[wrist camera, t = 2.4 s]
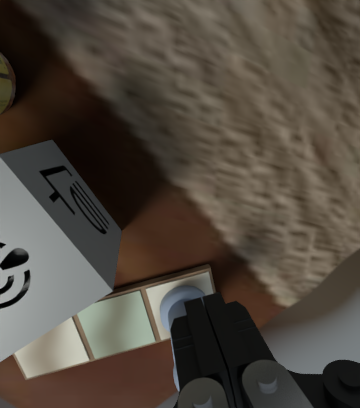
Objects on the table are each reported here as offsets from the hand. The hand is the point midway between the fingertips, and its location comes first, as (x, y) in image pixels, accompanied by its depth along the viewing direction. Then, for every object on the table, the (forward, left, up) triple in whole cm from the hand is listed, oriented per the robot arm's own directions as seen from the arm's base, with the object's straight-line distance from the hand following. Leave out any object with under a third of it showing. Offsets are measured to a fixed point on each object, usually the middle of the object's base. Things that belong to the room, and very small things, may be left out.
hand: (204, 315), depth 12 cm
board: (+8, +11, -17) cm, 21 cm away
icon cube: (+11, -1, -17) cm, 20 cm away
